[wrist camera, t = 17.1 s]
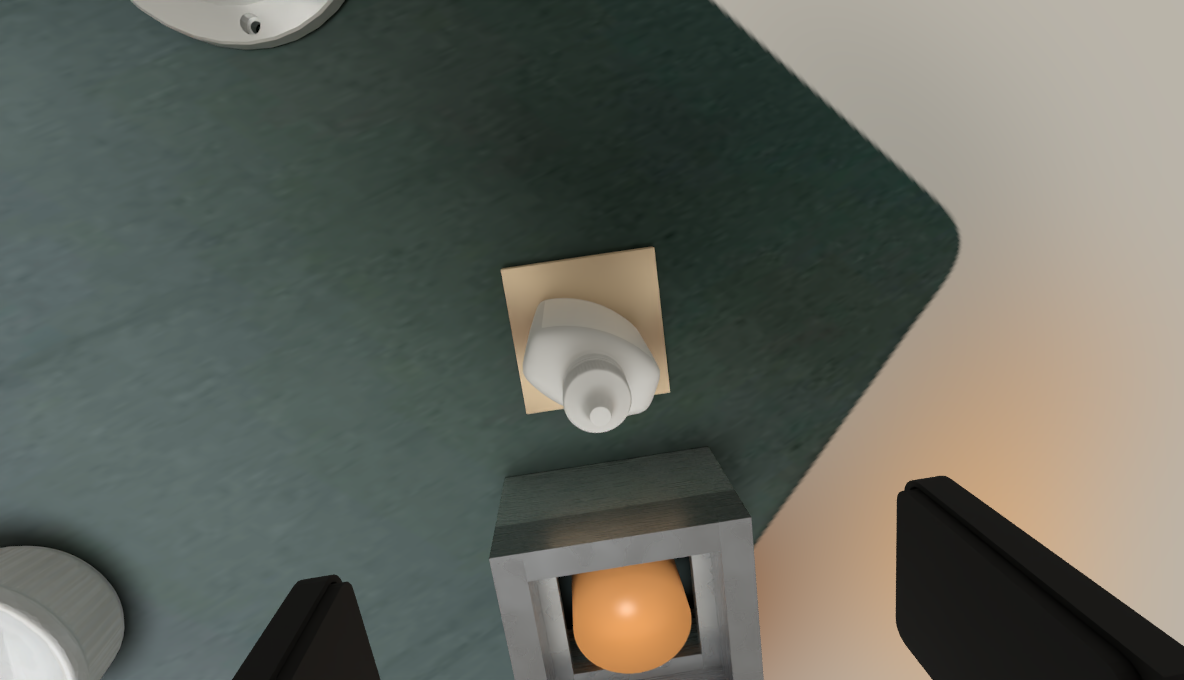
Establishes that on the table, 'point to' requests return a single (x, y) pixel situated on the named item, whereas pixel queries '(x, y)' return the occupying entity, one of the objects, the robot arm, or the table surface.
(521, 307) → the coaster
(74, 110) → the table surface
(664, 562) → the button
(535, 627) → the grey box
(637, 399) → the eye dropper bottle
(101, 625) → the ramekin
